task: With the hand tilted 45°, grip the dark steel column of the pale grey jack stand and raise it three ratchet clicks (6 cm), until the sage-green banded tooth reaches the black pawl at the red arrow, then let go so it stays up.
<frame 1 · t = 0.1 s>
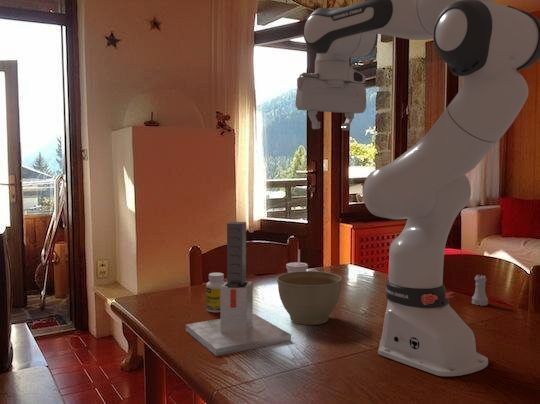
hand: (331, 129, 134), 48 cm above the table, tool pointing down, fingers open, 8 cm apart
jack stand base: (236, 335, 118), on the table
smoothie: (296, 297, 152), on the table
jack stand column: (236, 275, 117), point 14 cm above the table, slide at 0.0 cm
rook chess piece: (479, 304, 145), on the table
supplement bottle: (216, 310, 138), on the table
planter bowl: (308, 320, 130), on the table
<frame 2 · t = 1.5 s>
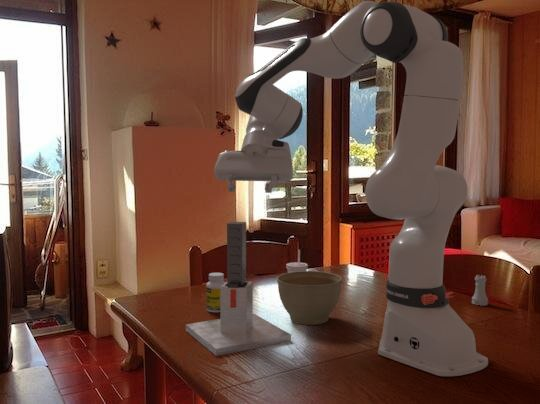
hand: (249, 190, 128), 32 cm above the table, tool tilted 45°, fingers open, 8 cm apart
nothing on the table moved.
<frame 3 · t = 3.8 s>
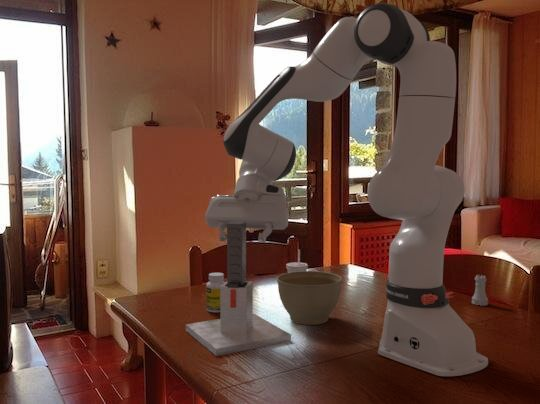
hand: (241, 240, 121), 21 cm above the table, tool tilted 45°, fingers open, 8 cm apart
nothing on the table moved.
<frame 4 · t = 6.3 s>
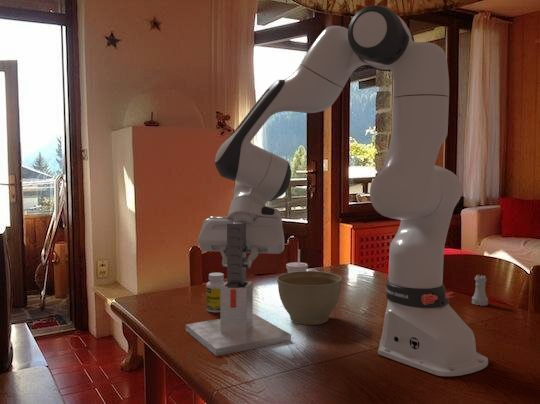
hand: (236, 265, 116), 16 cm above the table, tool tilted 45°, fingers closed on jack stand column, 3 cm apart
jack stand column: (236, 275, 117), point 14 cm above the table, slide at 0.0 cm, touching gripper
everything else where it was.
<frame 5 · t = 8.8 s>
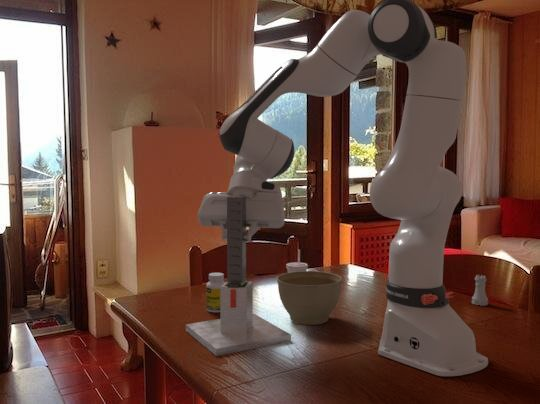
hand: (235, 239, 116), 22 cm above the table, tool tilted 45°, fingers closed on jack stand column, 3 cm apart
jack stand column: (236, 249, 116), point 20 cm above the table, slide at 5.9 cm, touching gripper
everything else where it was.
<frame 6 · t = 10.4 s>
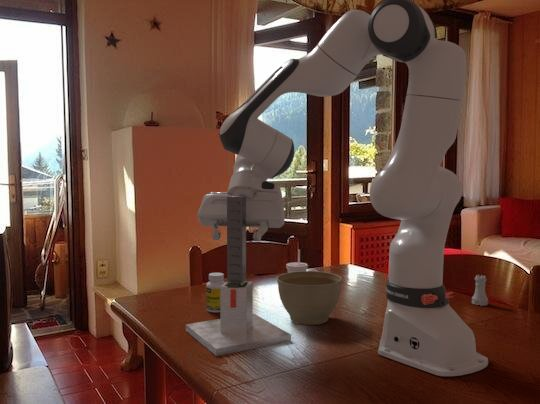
hand: (235, 239, 116), 22 cm above the table, tool tilted 45°, fingers open, 8 cm apart
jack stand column: (236, 249, 116), point 20 cm above the table, slide at 5.9 cm
everything else where it was.
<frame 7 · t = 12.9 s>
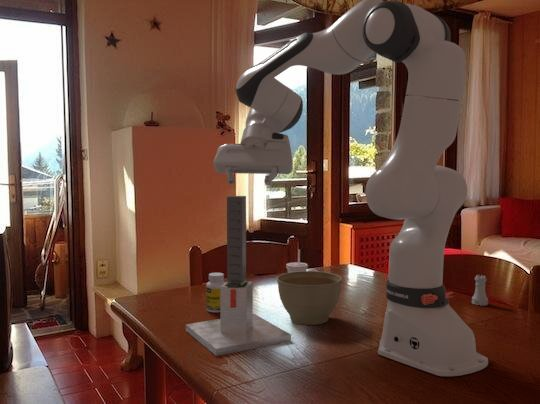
hand: (248, 183, 127), 34 cm above the table, tool tilted 45°, fingers open, 8 cm apart
nothing on the table moved.
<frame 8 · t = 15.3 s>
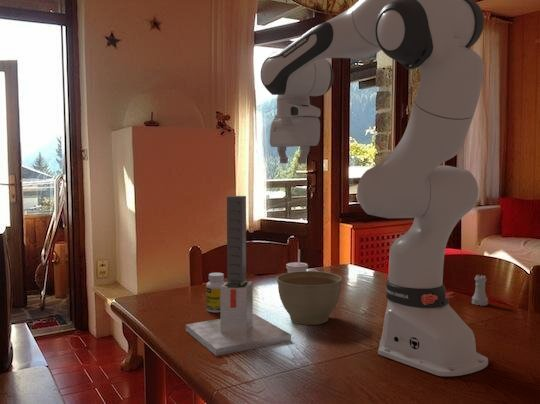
hand: (292, 163, 140), 39 cm above the table, tool pointing down, fingers open, 8 cm apart
nothing on the table moved.
at the end: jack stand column slide at 5.9 cm; the gripper is holding nothing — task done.
